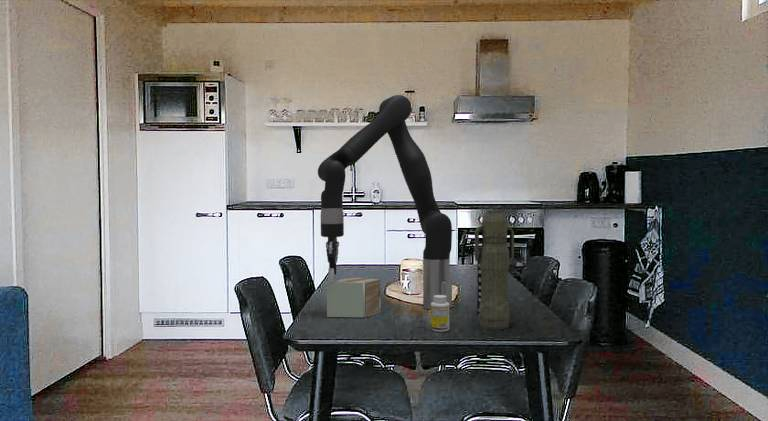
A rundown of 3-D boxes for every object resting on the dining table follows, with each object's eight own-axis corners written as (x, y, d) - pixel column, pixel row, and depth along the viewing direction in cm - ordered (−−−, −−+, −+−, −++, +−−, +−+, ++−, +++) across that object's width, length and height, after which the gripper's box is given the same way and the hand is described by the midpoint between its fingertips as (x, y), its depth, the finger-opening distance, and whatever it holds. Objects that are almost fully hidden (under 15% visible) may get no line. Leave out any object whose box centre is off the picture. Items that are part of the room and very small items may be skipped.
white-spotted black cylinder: (487, 319, 211) (487, 256, 210) (472, 314, 218) (472, 254, 217) (508, 316, 215) (508, 255, 214) (492, 311, 222) (492, 252, 221)
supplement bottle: (438, 327, 200) (437, 293, 199) (453, 329, 196) (453, 295, 196) (427, 330, 196) (426, 296, 195) (442, 333, 192) (442, 298, 192)
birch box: (380, 312, 223) (380, 279, 222) (364, 317, 214) (364, 283, 214) (351, 308, 229) (350, 277, 228) (334, 313, 220) (334, 281, 220)
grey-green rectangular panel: (365, 316, 214) (365, 268, 214) (364, 317, 213) (364, 269, 212) (327, 315, 216) (327, 268, 215) (326, 317, 214) (326, 268, 213)
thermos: (518, 328, 198) (519, 211, 196) (481, 330, 195) (481, 212, 194) (506, 322, 207) (507, 210, 205) (471, 323, 204) (471, 210, 202)
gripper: (341, 223, 209) (342, 277, 210) (345, 220, 222) (346, 271, 223) (317, 223, 209) (318, 277, 210) (323, 220, 222) (324, 271, 224)
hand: (332, 274), depth 217 cm, fingers closed
